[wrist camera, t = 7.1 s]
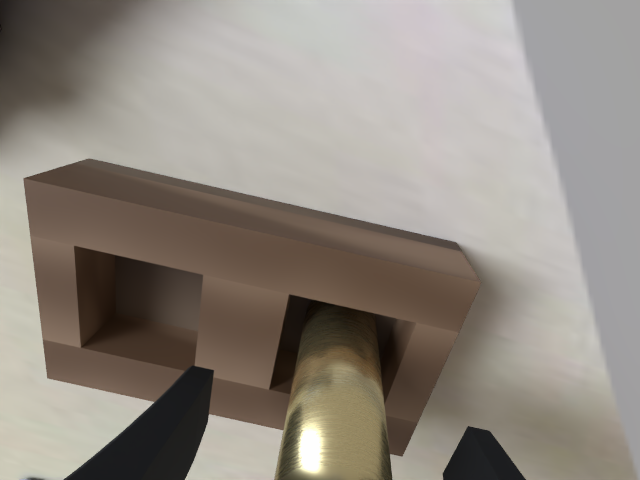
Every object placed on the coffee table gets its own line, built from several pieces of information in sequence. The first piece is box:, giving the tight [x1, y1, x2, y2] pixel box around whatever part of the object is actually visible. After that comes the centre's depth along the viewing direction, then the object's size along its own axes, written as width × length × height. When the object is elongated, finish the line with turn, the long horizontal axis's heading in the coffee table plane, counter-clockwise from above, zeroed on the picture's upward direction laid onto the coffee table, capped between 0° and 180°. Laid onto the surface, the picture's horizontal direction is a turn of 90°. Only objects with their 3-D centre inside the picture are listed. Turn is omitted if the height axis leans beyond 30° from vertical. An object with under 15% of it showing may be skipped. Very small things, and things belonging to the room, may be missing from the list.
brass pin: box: [274, 300, 392, 480], centre depth 12 cm, size 3×3×7 cm
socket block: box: [24, 159, 481, 456], centre depth 14 cm, size 8×14×3 cm, turn 78°
